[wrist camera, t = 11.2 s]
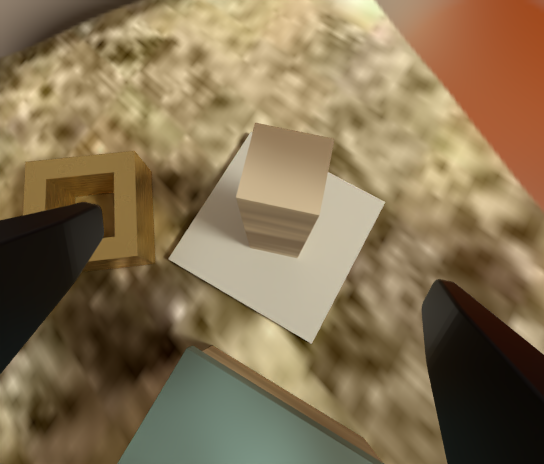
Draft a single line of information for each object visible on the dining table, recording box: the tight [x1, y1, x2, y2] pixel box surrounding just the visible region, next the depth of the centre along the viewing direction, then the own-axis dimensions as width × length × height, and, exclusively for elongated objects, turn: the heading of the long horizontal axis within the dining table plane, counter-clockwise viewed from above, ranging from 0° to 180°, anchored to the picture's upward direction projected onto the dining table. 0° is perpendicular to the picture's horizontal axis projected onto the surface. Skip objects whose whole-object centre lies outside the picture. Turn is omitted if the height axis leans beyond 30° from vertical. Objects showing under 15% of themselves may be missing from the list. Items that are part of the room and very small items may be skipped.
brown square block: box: [236, 123, 334, 258], centre depth 17 cm, size 3×3×10 cm
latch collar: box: [23, 151, 155, 272], centre depth 21 cm, size 6×6×3 cm
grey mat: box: [169, 132, 385, 344], centre depth 22 cm, size 10×10×1 cm
